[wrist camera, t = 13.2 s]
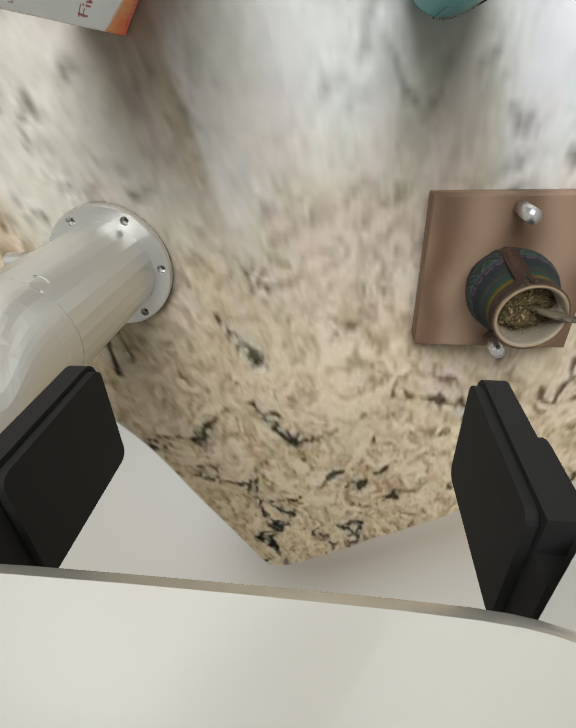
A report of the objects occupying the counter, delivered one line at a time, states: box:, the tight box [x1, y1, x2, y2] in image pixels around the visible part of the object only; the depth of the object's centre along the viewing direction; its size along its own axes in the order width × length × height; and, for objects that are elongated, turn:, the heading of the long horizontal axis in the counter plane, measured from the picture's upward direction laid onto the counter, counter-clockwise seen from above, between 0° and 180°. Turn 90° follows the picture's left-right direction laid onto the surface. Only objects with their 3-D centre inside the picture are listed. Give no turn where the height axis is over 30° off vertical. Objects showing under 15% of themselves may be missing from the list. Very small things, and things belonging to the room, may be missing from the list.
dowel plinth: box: [412, 189, 576, 359], centre depth 39 cm, size 14×14×6 cm
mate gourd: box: [465, 246, 576, 348], centre depth 35 cm, size 7×8×10 cm
